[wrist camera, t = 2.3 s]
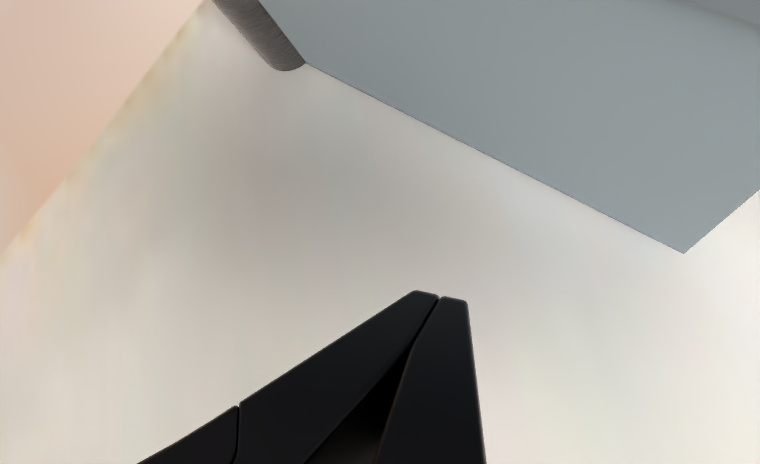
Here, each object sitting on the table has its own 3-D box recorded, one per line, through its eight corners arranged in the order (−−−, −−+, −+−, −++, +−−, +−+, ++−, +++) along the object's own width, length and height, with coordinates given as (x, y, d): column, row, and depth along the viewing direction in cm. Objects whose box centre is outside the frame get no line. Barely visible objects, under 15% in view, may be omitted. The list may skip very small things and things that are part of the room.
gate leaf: (303, 68, 25) (47, -254, 12) (324, 36, 26) (92, -317, 12) (679, 261, 19) (972, 20, 6) (705, 217, 19) (1051, -114, 6)
